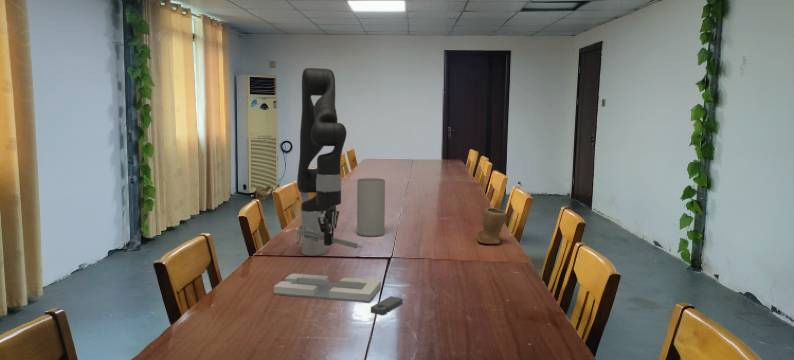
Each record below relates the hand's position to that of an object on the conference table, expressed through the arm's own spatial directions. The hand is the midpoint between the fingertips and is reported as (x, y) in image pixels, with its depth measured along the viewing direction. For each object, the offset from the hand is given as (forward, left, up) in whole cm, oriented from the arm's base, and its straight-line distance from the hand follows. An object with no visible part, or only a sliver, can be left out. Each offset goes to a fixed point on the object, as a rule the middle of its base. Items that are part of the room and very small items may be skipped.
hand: (328, 244), depth 168 cm
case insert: (0, 0, -15) cm, 15 cm away
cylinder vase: (-81, -8, -15) cm, 83 cm away
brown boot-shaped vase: (-81, +46, -15) cm, 94 cm away
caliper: (0, 0, -1) cm, 1 cm away
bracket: (+10, +21, -16) cm, 28 cm away
